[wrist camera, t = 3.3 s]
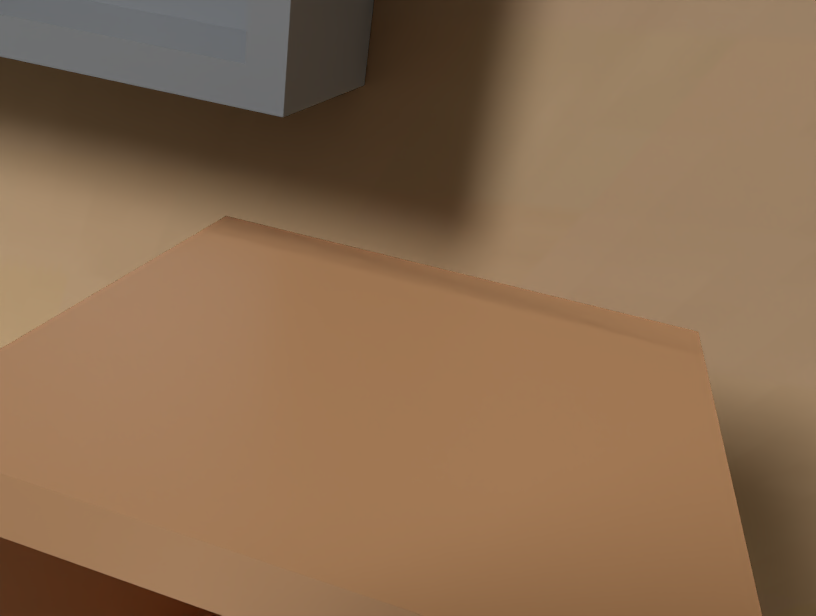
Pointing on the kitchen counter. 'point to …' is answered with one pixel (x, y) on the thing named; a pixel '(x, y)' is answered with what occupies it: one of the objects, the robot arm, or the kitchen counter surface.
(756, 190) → the kitchen counter surface
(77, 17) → the grey square tray
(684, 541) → the small crate
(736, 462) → the kitchen counter surface
